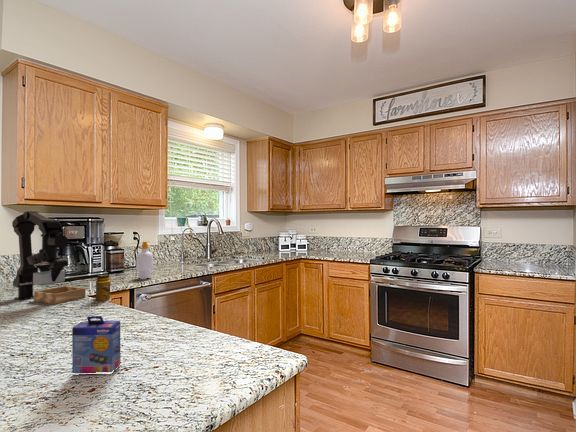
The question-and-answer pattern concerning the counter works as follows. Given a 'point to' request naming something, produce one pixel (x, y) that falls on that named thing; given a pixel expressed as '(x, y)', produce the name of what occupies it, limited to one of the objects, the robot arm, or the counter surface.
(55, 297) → the big crate
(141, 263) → the soap bottle
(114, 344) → the ink cartridge box
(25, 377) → the counter surface
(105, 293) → the condiment
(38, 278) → the small crate
